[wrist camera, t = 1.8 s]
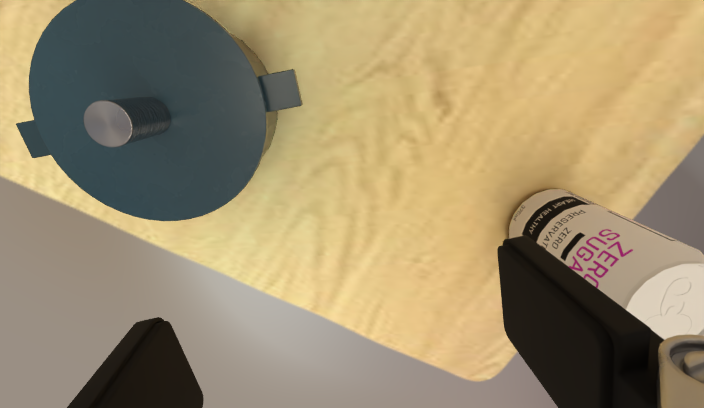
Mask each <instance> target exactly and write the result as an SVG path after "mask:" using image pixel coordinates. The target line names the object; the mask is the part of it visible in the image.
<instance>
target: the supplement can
mask: <svg viewBox="0 0 704 408" xmlns="http://www.w3.org/2000/svg"><path fill="white" fill-rule="evenodd" d="M523 235H526V236H528V237H530V238H531V239H532V240H534V241H535V242H536V243H538V244H539V245H540V246H542V247H543V248H544V249H546V250H547V251H548V252H550V253H551V254H552V255H554V256H555V257H556V258H558V259H559V260H560V261H562V262H563V263H564V264H566V265H567V266H568V267H570V268H571V269H572V270H574V271H575V272H576V273H578V274H579V275H580V276H582V277H583V278H584V279H586V280H587V281H588V282H590V283H591V284H592V285H594V286H595V287H596V288H598V289H599V290H600V291H602V292H603V293H604V294H606V295H607V296H608V297H610V298H611V299H612V300H614V301H615V302H616V303H618V304H619V305H620V306H622V307H623V308H624V309H626V310H627V311H628V312H630V313H631V314H632V315H634V316H635V317H636V318H638V319H639V320H640V321H642V322H643V323H644V324H646V325H647V326H648V327H650V328H651V330H652V331H654V332H655V333H656V334H658V335H659V336H660V337H662V338H663V339H664V340H665V339H666V338H669V337H673V336H676V335H689V334H692V335H700V336H704V255H703V254H702V252H701V251H700V250H697V249H695V248H693V247H691V246H689V245H686V244H684V243H682V242H679V241H678V240H675V239H673V238H671V237H669V236H666V235H664V234H662V233H660V232H657V231H655V230H653V229H651V228H649V227H646V226H644V225H642V224H640V223H638V222H635V221H633V220H631V219H629V218H626V217H624V216H622V215H620V214H618V213H615V212H613V211H611V210H609V209H607V208H604V207H602V206H600V205H598V204H595V203H593V202H591V201H589V200H587V199H584V198H582V197H580V196H578V195H575V194H573V193H571V192H568V191H566V190H563V189H548V190H545V191H542V192H539V193H536V194H534V195H533V196H531V197H530V198H529V199H527V200H526V201H524V202H523V203H522V204H521V206H520V207H519V208H518V209H517V211H516V212H515V213H514V215H513V218H512V220H511V223H510V226H509V239H510V238H514V237H519V236H523Z"/></svg>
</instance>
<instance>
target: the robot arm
mask: <svg viewBox="0 0 704 408" xmlns="http://www.w3.org/2000/svg"><path fill="white" fill-rule="evenodd" d="M498 262H499V274H500V285H501V297H502V308H503V320H504V328H505V331H506V334H507V336H508V338H509V340H510V341H511V342H512V344H513V345H514V347H515V348H516V349H517V351H518V352H519V354H520V355H521V356H522V358H523V359H524V360H525V362H526V363H527V365H528V366H529V367H530V369H531V370H532V372H533V373H534V374H535V376H536V377H537V378H538V380H539V381H540V383H541V384H542V385H543V387H544V388H545V390H546V391H547V393H548V394H549V395H550V397H551V398H552V400H553V401H554V402H555V404H556V405H557V406H558V408H704V336H700V335H692V334H689V335H676V336H673V337H669V338H666V339H665V340H664V339H663V338H662V337H660V336H659V335H658V334H656V333H655V332H654V331H652V330H651V328H650V327H648V326H647V325H646V324H644V323H643V322H642V321H640V320H639V319H638V318H636V317H635V316H634V315H632V314H631V313H630V312H628V311H627V310H626V309H624V308H623V307H622V306H620V305H619V304H618V303H616V302H615V301H614V300H612V299H611V298H610V297H608V296H607V295H606V294H604V293H603V292H602V291H600V290H599V289H598V288H596V287H595V286H594V285H592V284H591V283H590V282H588V281H587V280H586V279H584V278H583V277H582V276H580V275H579V274H578V273H576V272H575V271H574V270H572V269H571V268H570V267H568V266H567V265H566V264H564V263H563V262H562V261H560V260H559V259H558V258H556V257H555V256H554V255H552V254H551V253H550V252H548V251H547V250H546V249H544V248H543V247H542V246H540V245H539V244H538V243H536V242H535V241H534V240H532V239H531V238H530V237H528V236H526V235H523V236H519V237H514V238H510V239H505V240H504V241H503V246H499V247H498ZM202 407H203V394H202V391H201V389H200V387H199V385H198V382H197V380H196V378H195V376H194V374H193V372H192V369H191V367H190V365H189V363H188V361H187V358H186V356H185V354H184V352H183V350H182V347H181V345H180V343H179V341H178V339H177V337H176V335H175V332H174V330H173V328H172V326H171V324H170V323H169V322H168V321H164V320H163V319H162V318H159V317H158V318H153V319H149V320H144V321H140V322H137V323H136V324H134V325H133V327H132V328H131V329H130V330H129V332H128V333H127V334H126V335H125V337H124V338H123V339H122V340H121V341H120V343H119V344H118V345H117V346H116V348H115V349H114V350H113V351H112V353H111V354H110V355H109V356H108V358H107V359H106V360H105V361H104V362H103V364H102V365H101V366H100V367H99V369H98V370H97V371H96V372H95V374H94V375H93V376H92V377H91V379H90V380H89V381H88V382H87V384H86V385H85V386H84V387H83V389H82V390H81V391H80V392H79V393H78V395H77V396H76V397H75V398H74V400H73V401H72V402H71V403H70V405H69V406H68V407H67V408H202Z"/></svg>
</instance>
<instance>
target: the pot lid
mask: <svg viewBox="0 0 704 408" xmlns="http://www.w3.org/2000/svg"><path fill="white" fill-rule="evenodd" d="M29 95H30V102H31V108H32V112H33V116H34V120H35V123H36V126H37V128H38V131H39V133H40V136H41V138H42V140H43V142H44V143H45V145H46V147H47V149H48V151H49V152H50V154H51V155H52V157H53V158H54V160H55V161H56V162H57V164H58V165H59V166H60V168H61V169H62V170H63V171H64V172H65V173H66V174H67V176H68V177H69V178H70V179H71V180H73V181H74V182H75V183H76V184H77V185H78V186H79V187H80V188H81V189H83V190H84V191H85V192H87V193H88V194H89V195H91V196H92V197H93V198H95V199H97V200H98V201H100V202H102V203H103V204H105V205H107V206H109V207H111V208H113V209H116V210H118V211H120V212H123V213H126V214H129V215H132V216H135V217H139V218H144V219H149V220H158V221H178V220H186V219H192V218H195V217H199V216H203V215H205V214H208V213H210V212H213V211H215V210H217V209H218V208H220V207H222V206H224V205H225V204H227V203H228V202H229V201H231V200H232V199H233V198H234V197H236V196H237V195H238V194H239V193H240V192H241V190H242V189H243V188H244V187H245V186H246V185H247V183H248V182H249V181H250V179H251V178H252V177H253V175H254V173H255V171H256V169H257V168H258V166H259V164H260V161H261V158H262V155H263V152H264V149H265V144H266V139H267V127H268V121H267V108H266V102H265V97H264V93H263V90H262V87H261V84H260V80H259V78H258V76H257V74H256V71H255V69H254V67H253V65H252V63H251V62H250V60H249V58H248V57H247V55H246V53H245V52H244V50H243V49H242V48H241V47H240V45H239V44H238V43H237V41H236V40H235V39H234V38H233V37H232V36H231V35H230V34H229V33H228V32H227V30H226V29H225V28H224V27H223V26H222V25H220V24H219V23H218V22H217V21H215V20H214V19H213V18H212V17H210V16H209V15H208V14H206V13H205V12H203V11H201V10H200V9H198V8H197V7H195V6H193V5H192V4H190V3H188V2H185V1H183V0H76V1H74V2H73V3H71V4H70V5H68V6H67V7H65V8H64V9H63V10H62V11H61V12H60V13H59V14H57V15H56V16H55V17H54V18H53V19H52V20H51V22H50V23H49V25H48V26H47V27H46V29H45V30H44V31H43V33H42V35H41V37H40V39H39V41H38V43H37V45H36V48H35V51H34V54H33V57H32V61H31V67H30V74H29Z"/></svg>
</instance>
